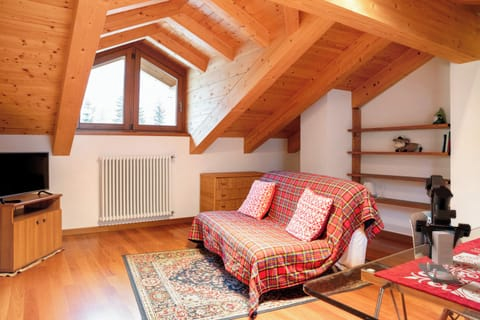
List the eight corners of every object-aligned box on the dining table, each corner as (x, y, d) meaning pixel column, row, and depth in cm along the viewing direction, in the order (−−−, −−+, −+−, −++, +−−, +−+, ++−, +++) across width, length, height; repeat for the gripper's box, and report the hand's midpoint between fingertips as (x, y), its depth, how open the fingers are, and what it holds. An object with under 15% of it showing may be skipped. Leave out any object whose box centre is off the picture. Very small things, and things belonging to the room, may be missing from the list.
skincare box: (445, 261, 134) (447, 231, 133) (453, 264, 130) (454, 234, 129) (430, 261, 134) (432, 231, 133) (437, 265, 129) (438, 234, 129)
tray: (418, 265, 146) (418, 254, 145) (441, 267, 144) (441, 256, 144) (433, 282, 128) (433, 269, 128) (459, 284, 126) (459, 271, 126)
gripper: (416, 199, 138) (416, 233, 129) (471, 203, 130) (475, 239, 121) (415, 215, 145) (415, 247, 136) (467, 219, 137) (470, 254, 128)
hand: (442, 247), depth 130 cm, fingers closed on skincare box, 7 cm apart
